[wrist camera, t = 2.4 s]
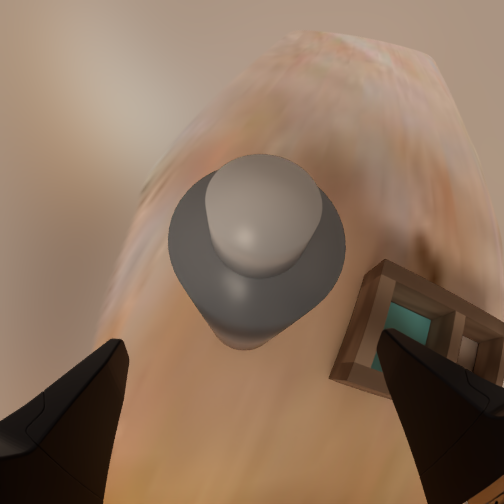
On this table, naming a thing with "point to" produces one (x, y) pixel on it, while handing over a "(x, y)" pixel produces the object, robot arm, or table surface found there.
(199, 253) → the slate plug
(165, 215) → the table surface
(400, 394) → the robot arm
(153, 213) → the table surface
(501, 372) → the box
